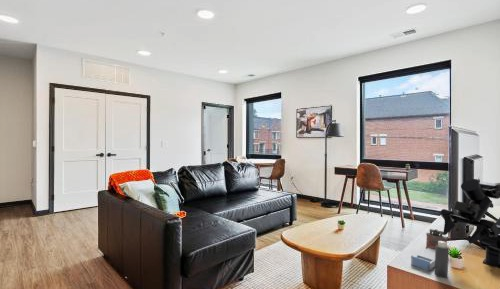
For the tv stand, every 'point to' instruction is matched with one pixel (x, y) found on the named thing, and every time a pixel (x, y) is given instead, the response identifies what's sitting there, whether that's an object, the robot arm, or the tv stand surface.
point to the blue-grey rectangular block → (424, 259)
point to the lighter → (434, 238)
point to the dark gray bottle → (441, 259)
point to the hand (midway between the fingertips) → (456, 238)
